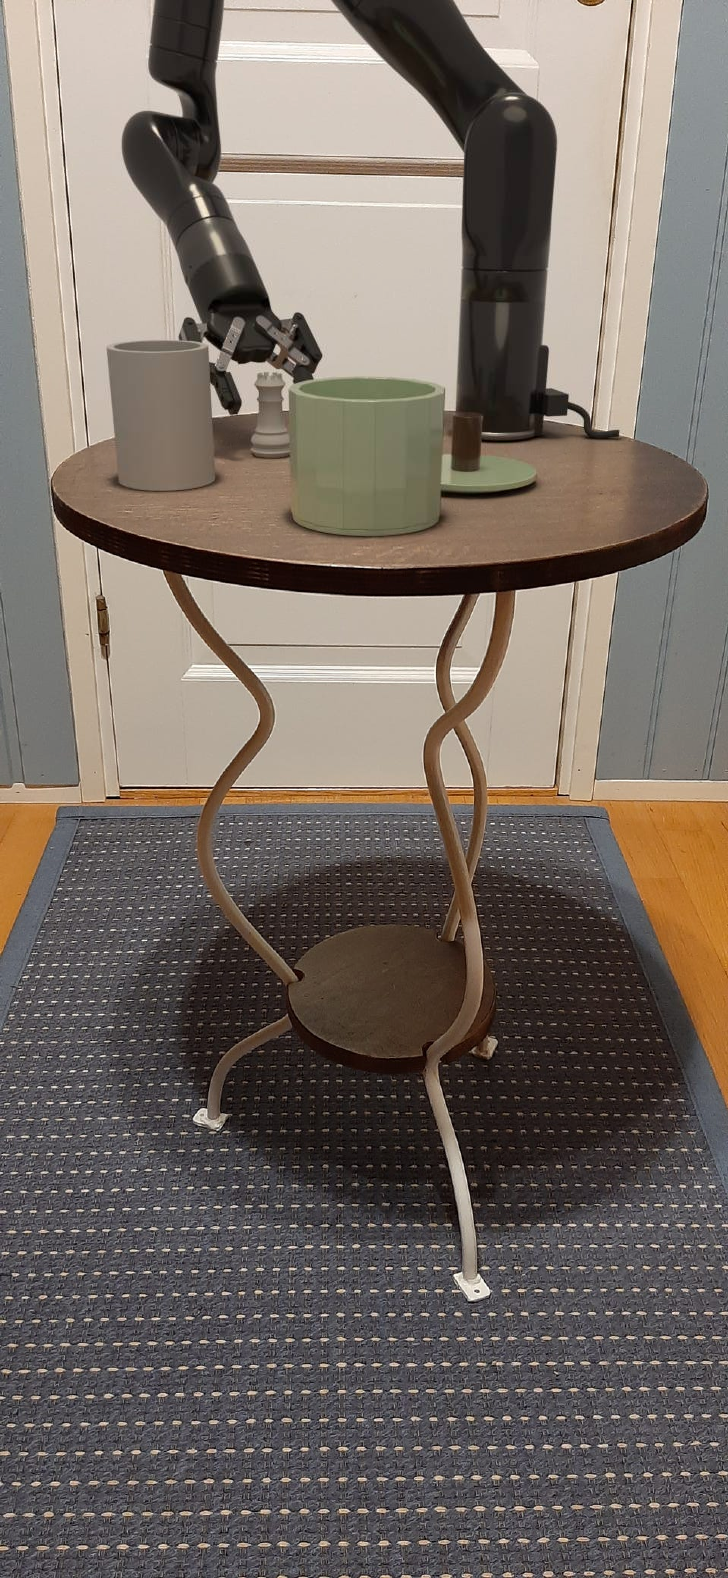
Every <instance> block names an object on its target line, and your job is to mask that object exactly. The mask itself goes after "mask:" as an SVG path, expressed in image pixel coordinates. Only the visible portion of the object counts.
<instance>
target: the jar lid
mask: <svg viewBox="0 0 728 1578" xmlns="http://www.w3.org/2000/svg"><path fill="white" fill-rule="evenodd" d="M482 422H483V415H482V414H480V413H475V412H458V413H455V412H454V413H453V414H452V423H451V424H452V425H451V426H452V427H451V448H450V453H445V454H444V453H443V458H442V484H441V493H450V494H489V493H496V492H501V491H508V490H514V489H518V488H523V487H525V486H529V485H531V484H533V483H534V482H535V481H536V480H537V476H538V475H537V474H538V471H537V469H536V468H535V466H533V465H531V464H529V463H527V462H524V461H521V460H518V459H514V458H513V459H512V458H509V457H502V456H495V455H487V454H482V442H483V440H482Z"/></svg>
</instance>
